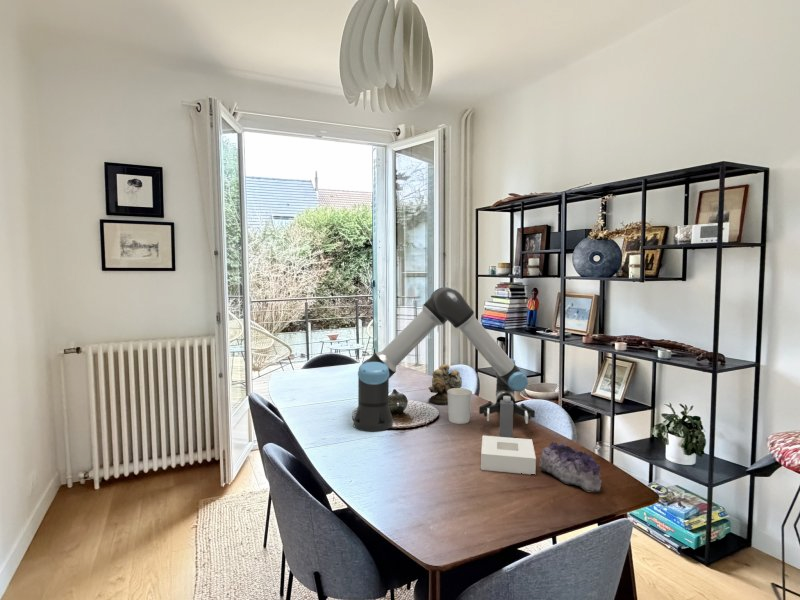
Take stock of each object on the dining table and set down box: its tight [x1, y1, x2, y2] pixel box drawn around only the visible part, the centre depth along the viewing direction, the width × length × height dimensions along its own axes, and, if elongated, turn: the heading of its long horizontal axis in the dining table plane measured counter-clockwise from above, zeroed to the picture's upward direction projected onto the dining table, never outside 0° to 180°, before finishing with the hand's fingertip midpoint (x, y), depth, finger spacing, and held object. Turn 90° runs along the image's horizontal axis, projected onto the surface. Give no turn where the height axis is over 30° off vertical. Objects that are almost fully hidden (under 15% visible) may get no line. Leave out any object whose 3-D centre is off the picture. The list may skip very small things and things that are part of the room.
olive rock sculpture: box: [428, 363, 463, 406], centre depth 218 cm, size 18×12×17 cm, turn 117°
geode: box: [539, 441, 602, 493], centre depth 140 cm, size 20×12×10 cm, turn 29°
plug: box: [498, 396, 514, 438], centre depth 173 cm, size 4×4×15 cm
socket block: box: [480, 435, 537, 475], centre depth 151 cm, size 16×16×5 cm
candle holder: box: [447, 387, 473, 425], centre depth 191 cm, size 10×10×12 cm
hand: (507, 418), depth 171 cm, fingers open, 13 cm apart
